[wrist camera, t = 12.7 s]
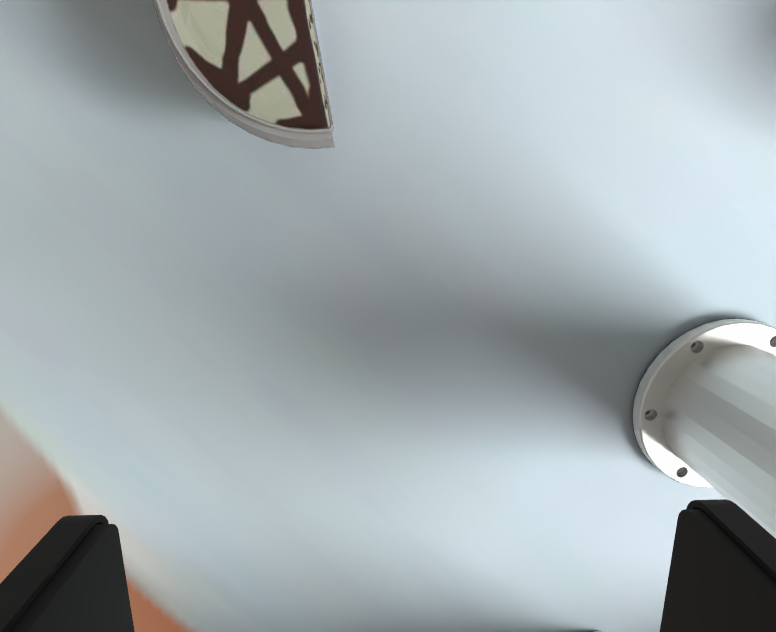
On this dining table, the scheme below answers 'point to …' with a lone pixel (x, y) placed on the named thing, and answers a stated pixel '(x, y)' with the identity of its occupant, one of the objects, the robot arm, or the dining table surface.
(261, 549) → the dining table surface
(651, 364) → the robot arm
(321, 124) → the food container
